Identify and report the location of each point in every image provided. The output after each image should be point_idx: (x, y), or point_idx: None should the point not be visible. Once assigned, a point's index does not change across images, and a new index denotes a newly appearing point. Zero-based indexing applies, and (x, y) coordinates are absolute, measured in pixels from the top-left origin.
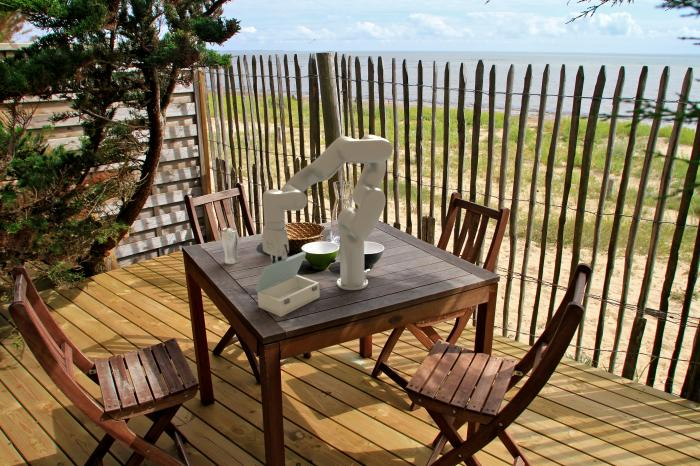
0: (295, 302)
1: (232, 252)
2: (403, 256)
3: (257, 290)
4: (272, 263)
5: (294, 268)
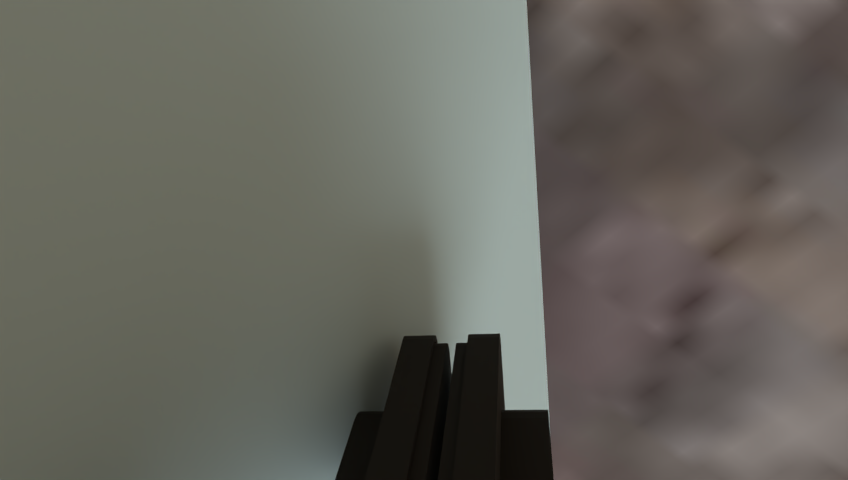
0: None
1: None
2: None
3: None
4: (490, 460)
5: None
